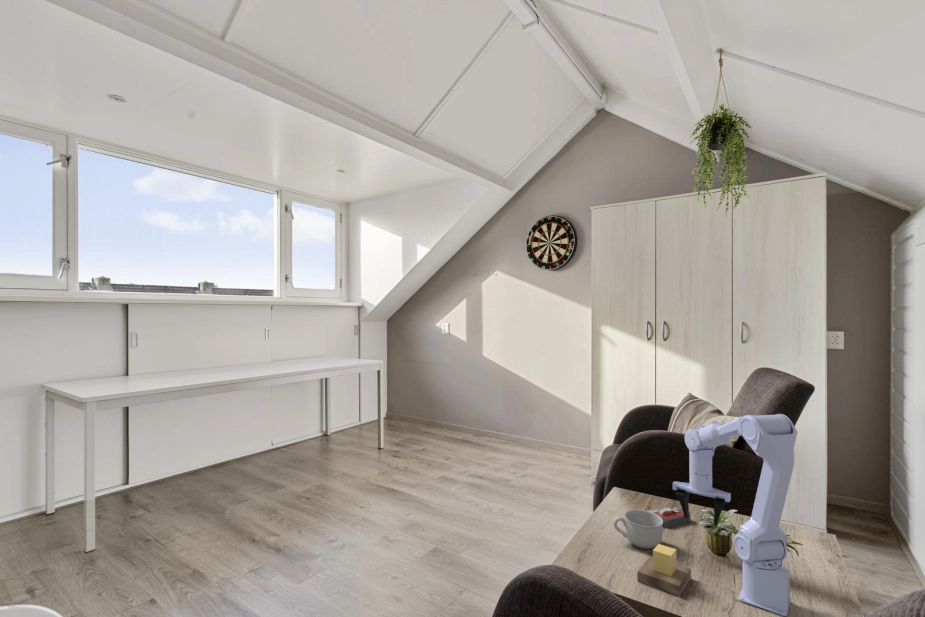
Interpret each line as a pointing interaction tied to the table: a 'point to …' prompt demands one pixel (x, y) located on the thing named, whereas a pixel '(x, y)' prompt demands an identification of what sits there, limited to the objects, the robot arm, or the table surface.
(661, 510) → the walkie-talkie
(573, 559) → the table surface
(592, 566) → the table surface
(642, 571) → the walnut plinth
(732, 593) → the table surface
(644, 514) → the teacup
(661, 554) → the mustard block
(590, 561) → the table surface
